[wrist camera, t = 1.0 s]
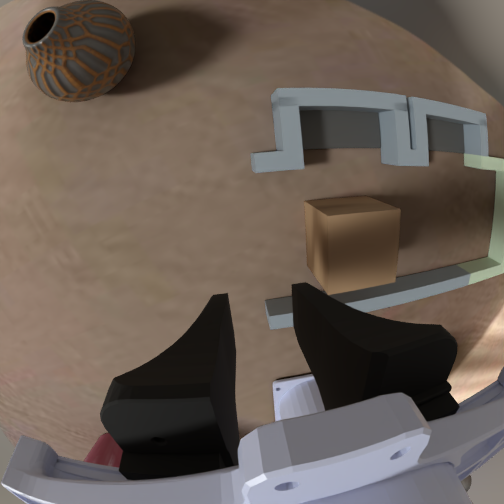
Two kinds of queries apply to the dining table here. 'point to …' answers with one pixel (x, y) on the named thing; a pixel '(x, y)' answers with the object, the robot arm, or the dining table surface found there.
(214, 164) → the dining table surface
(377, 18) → the dining table surface
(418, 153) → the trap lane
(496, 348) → the dining table surface
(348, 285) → the walnut block
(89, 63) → the vase
